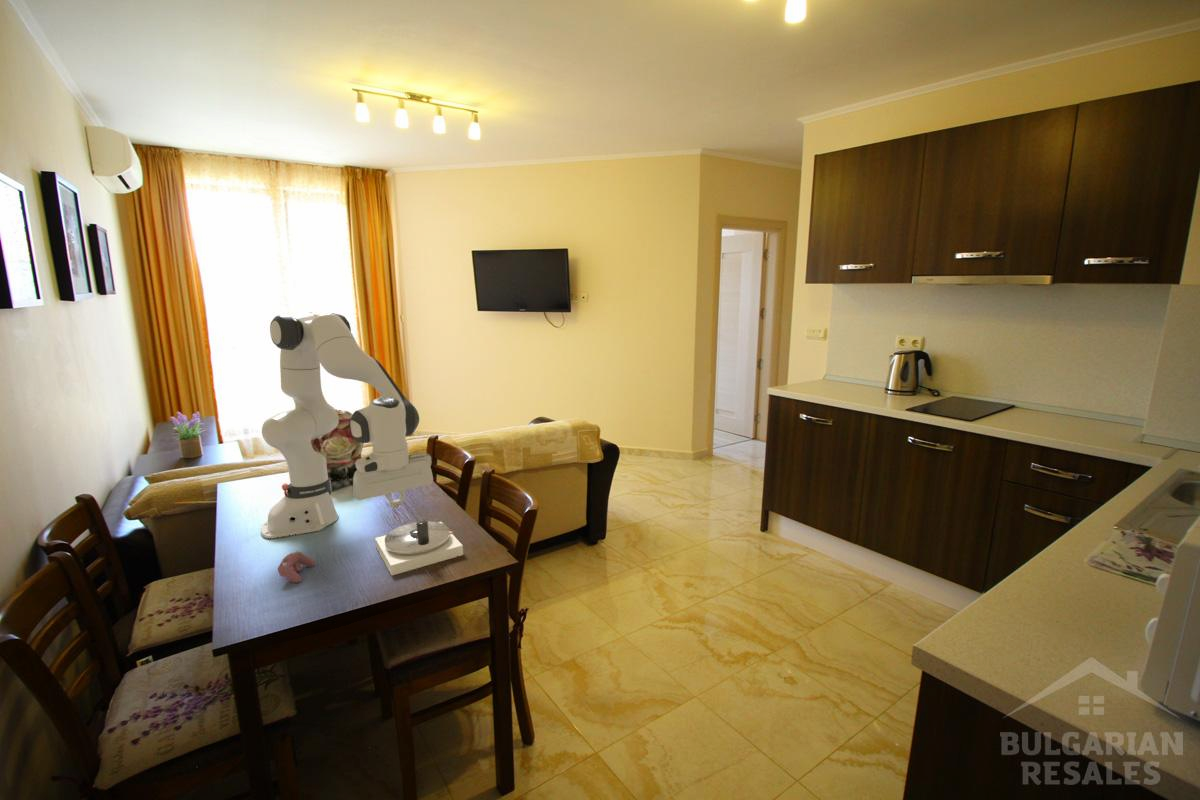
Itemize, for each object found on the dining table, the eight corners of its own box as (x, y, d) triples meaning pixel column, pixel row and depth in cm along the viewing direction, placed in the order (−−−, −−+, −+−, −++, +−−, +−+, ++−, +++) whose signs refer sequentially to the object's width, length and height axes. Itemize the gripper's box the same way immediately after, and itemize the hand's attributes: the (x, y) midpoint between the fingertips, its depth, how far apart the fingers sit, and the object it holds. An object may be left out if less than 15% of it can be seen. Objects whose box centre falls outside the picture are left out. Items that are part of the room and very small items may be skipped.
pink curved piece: (303, 570, 150) (288, 551, 149) (317, 563, 150) (303, 543, 149) (286, 590, 141) (270, 569, 139) (301, 582, 141) (286, 561, 139)
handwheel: (379, 537, 159) (376, 512, 158) (438, 522, 169) (436, 498, 168) (393, 561, 145) (390, 534, 143) (458, 544, 154) (456, 518, 153)
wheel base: (391, 575, 144) (390, 564, 143) (376, 547, 160) (374, 537, 160) (464, 554, 155) (463, 544, 154) (442, 530, 171) (441, 520, 171)
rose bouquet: (290, 482, 217) (281, 410, 211) (364, 465, 237) (357, 400, 231) (309, 499, 199) (298, 421, 193) (386, 480, 218) (379, 408, 212)
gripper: (427, 448, 151) (431, 494, 153) (348, 462, 140) (354, 512, 142) (433, 453, 146) (438, 501, 148) (353, 468, 134) (359, 520, 137)
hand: (396, 506), depth 145 cm, fingers closed
